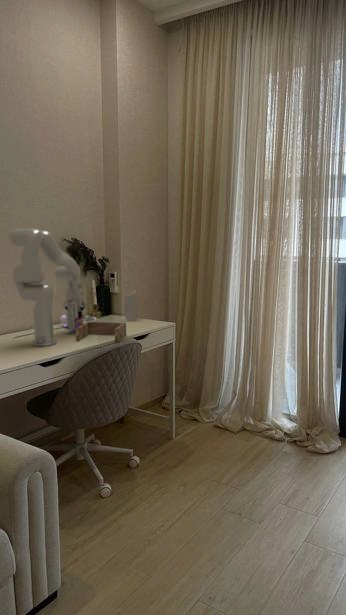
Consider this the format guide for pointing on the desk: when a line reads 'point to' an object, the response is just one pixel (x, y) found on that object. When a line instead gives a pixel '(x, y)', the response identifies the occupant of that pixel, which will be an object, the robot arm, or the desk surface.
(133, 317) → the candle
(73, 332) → the felt mat
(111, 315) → the desk surface
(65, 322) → the headphones
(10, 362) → the desk surface
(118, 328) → the brown bent panel
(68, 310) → the candy bar box
